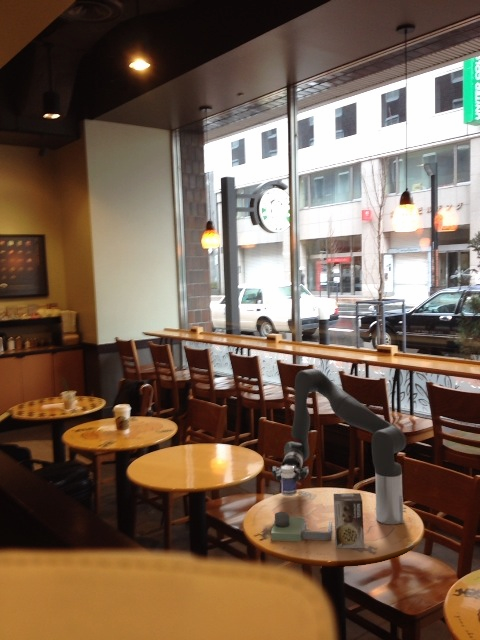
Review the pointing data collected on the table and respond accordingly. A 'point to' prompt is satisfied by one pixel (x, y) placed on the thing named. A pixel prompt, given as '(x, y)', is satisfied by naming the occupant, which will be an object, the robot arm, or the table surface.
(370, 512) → the table surface
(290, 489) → the pill bottle
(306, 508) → the table surface
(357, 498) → the coffee box
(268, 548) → the table surface
